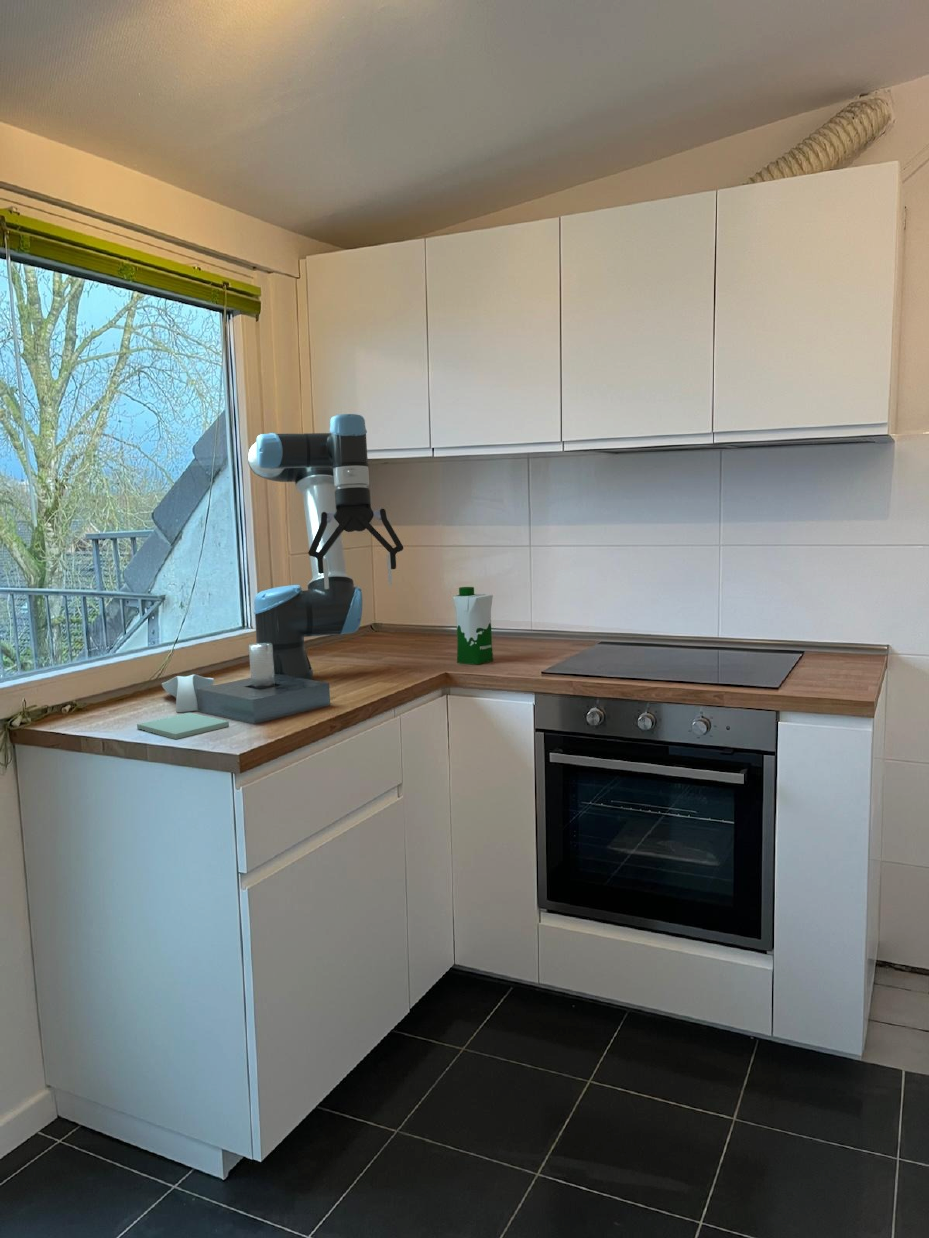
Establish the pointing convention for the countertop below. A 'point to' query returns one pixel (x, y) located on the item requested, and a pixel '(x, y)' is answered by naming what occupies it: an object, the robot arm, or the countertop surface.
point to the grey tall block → (261, 665)
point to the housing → (263, 699)
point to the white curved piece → (186, 690)
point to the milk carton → (473, 627)
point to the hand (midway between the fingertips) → (358, 587)
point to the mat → (183, 725)
